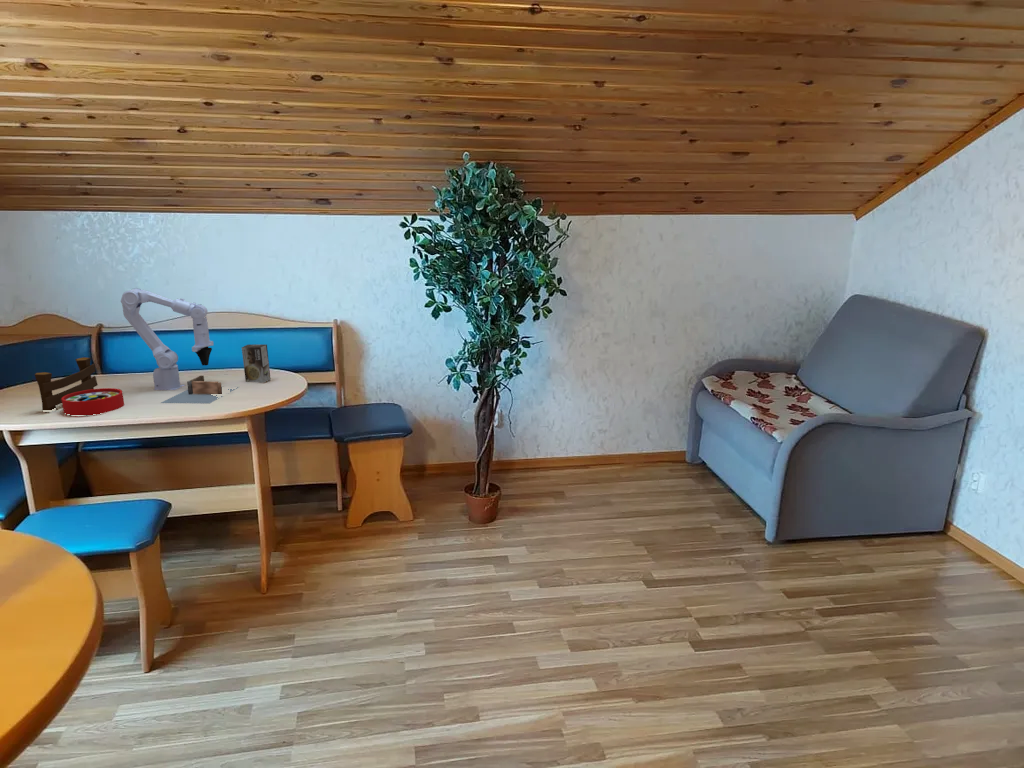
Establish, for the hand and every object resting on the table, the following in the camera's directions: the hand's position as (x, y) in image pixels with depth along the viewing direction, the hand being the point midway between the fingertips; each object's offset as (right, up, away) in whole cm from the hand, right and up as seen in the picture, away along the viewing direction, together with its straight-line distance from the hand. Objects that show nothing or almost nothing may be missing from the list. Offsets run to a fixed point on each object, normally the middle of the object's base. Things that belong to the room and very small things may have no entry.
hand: (205, 365), depth 292 cm
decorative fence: (-45, -15, -20) cm, 51 cm away
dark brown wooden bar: (-1, -11, -7) cm, 13 cm away
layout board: (+4, -13, -12) cm, 18 cm away
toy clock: (-29, -18, -30) cm, 46 cm away
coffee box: (+19, -7, +11) cm, 23 cm away
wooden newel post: (+7, -12, -12) cm, 18 cm away
